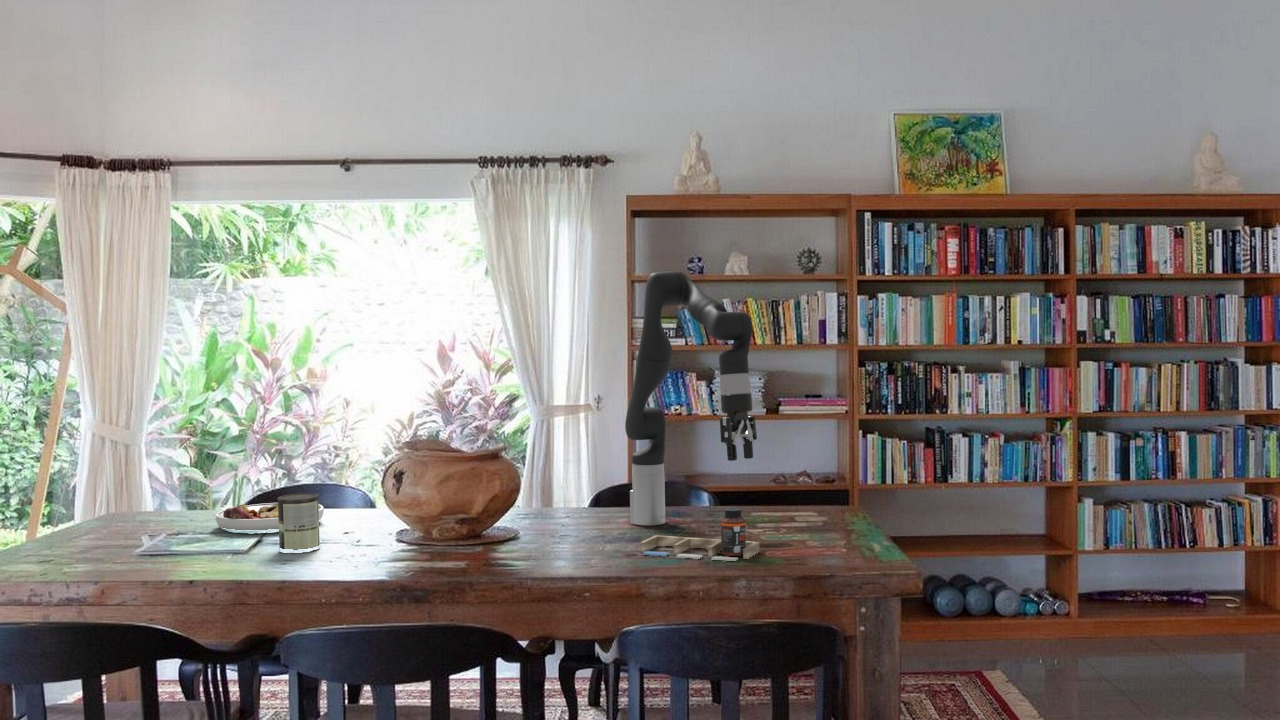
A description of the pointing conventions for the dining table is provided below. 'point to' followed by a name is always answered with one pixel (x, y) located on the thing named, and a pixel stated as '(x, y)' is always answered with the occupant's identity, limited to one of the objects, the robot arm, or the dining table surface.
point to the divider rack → (694, 545)
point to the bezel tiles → (689, 556)
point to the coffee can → (298, 521)
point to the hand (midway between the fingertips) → (740, 459)
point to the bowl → (252, 517)
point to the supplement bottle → (733, 533)
